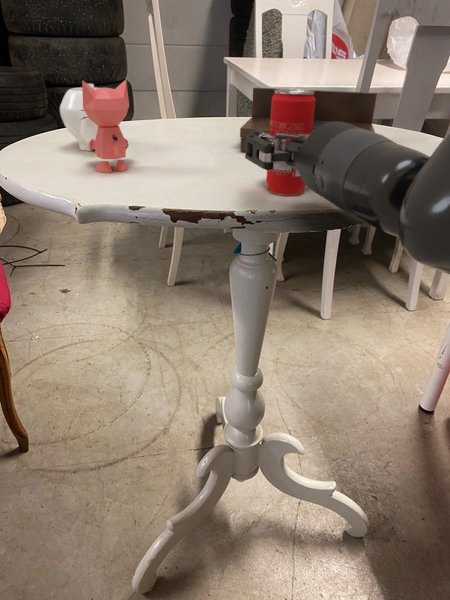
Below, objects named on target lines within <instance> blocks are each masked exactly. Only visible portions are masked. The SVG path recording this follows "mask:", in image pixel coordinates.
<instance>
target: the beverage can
mask: <svg viewBox="0 0 450 600" xmlns="http://www.w3.org/2000/svg"><path fill="white" fill-rule="evenodd" d="M276 89H277V90H275V91H274V92H275V93H274V95H273V97H272V103H271V118H270V133H269V134H270V135H276V134H278V133H281V132H288V133H295V134H303V133H312V127H313V118H314V109H315V97H314V91H311V90H312V89H303V88H276ZM291 141H292V140H287V139H286V141H285V147H286V146H287V145H288V144H289V143H290V142H291ZM269 142H270V143H271V142H273V141H269ZM273 143H274V142H273ZM265 179H266V181H265V182H266V184H267V186H268V191H269V192H270V193H272V194H274V195H278V196H298V195H300V194H302V193H303V191H304V188H305V187H306V185H305V183H304V182H303V180H302V178H301V176H300V174H299V172H298V171H297V170H296V169H295V168H293V167H288V166H283V165H278V164H275V163H274V168H273V169H271V170H266V177H265Z"/></svg>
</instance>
